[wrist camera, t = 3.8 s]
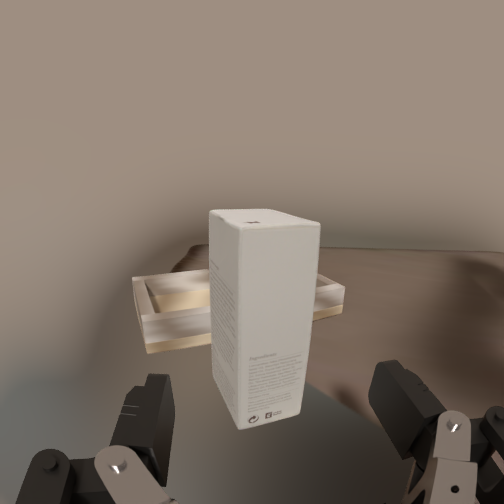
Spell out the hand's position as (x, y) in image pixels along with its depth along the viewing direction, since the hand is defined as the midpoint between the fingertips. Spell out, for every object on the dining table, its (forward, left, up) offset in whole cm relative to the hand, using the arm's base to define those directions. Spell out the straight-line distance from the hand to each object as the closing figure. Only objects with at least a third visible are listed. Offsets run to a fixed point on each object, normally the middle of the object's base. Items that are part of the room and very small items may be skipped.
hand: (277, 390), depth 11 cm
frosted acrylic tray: (-6, -20, -7) cm, 22 cm away
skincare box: (-2, -7, -7) cm, 10 cm away
